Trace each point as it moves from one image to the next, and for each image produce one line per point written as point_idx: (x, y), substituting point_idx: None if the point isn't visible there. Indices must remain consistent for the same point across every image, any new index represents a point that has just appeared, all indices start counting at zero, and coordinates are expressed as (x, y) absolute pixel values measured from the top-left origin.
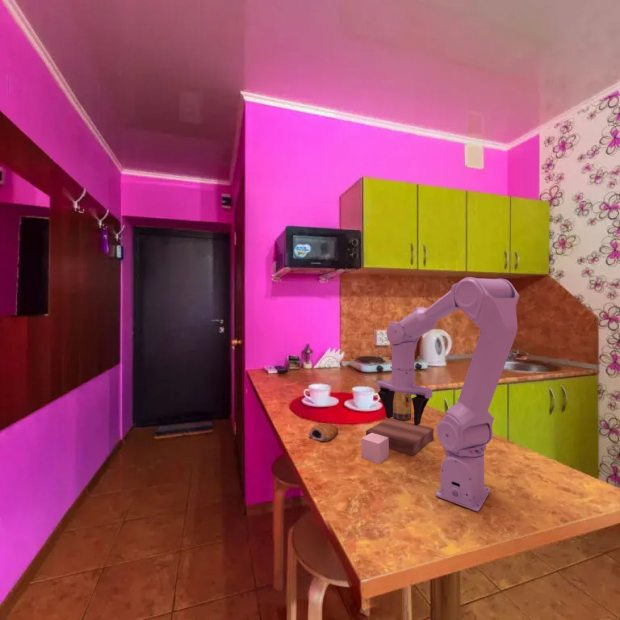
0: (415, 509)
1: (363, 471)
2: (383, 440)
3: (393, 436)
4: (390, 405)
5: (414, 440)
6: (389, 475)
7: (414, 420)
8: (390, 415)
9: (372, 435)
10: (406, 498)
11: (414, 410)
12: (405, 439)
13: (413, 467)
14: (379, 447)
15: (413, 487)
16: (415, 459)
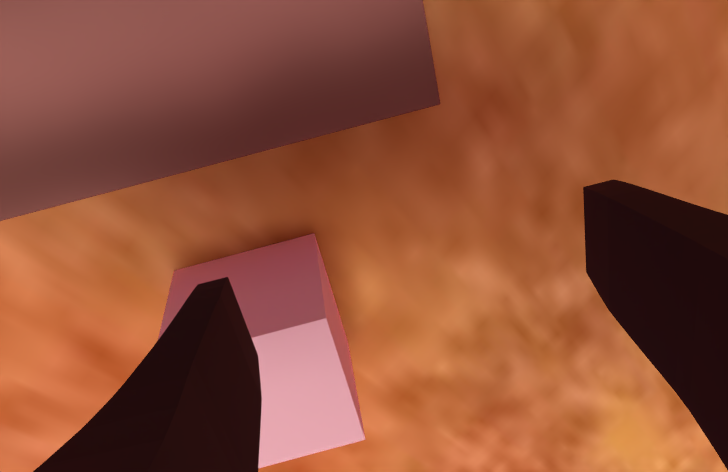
0: (692, 446)
1: (359, 447)
2: (343, 383)
3: (207, 121)
4: (224, 435)
5: (401, 22)
6: (474, 374)
7: (623, 316)
8: (244, 343)
9: None
10: (635, 429)
11: (716, 432)
12: (329, 78)
13: (518, 211)
14: (359, 409)
15: (620, 356)
16: (465, 110)
